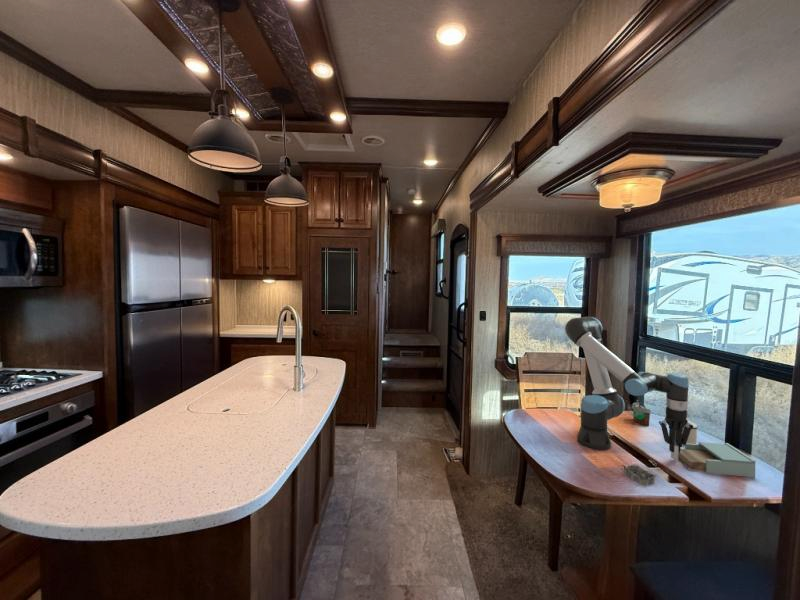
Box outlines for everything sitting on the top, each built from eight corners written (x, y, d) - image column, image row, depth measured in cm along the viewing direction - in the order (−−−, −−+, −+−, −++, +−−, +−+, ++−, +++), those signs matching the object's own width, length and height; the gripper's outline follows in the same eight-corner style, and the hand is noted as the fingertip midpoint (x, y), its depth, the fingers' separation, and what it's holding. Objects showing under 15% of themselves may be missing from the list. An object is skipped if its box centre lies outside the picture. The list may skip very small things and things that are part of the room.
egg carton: (620, 473, 146) (620, 463, 146) (634, 470, 148) (634, 461, 148) (643, 487, 136) (643, 477, 136) (658, 484, 137) (658, 474, 137)
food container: (627, 418, 204) (627, 401, 203) (638, 418, 203) (638, 402, 203) (638, 426, 192) (638, 409, 191) (650, 427, 191) (650, 409, 190)
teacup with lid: (702, 444, 170) (702, 421, 169) (685, 445, 169) (686, 422, 168) (679, 434, 182) (680, 412, 181) (664, 435, 181) (664, 413, 180)
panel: (690, 470, 148) (690, 461, 148) (674, 456, 159) (674, 448, 159) (739, 475, 144) (740, 465, 144) (720, 460, 155) (720, 452, 155)
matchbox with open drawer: (707, 472, 145) (707, 456, 145) (684, 454, 160) (684, 439, 160) (754, 477, 141) (755, 460, 141) (727, 457, 157) (727, 443, 156)
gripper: (664, 410, 151) (662, 461, 152) (698, 412, 148) (696, 464, 150) (655, 404, 158) (653, 453, 160) (687, 406, 156) (685, 455, 157)
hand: (674, 458), depth 155 cm, fingers closed
